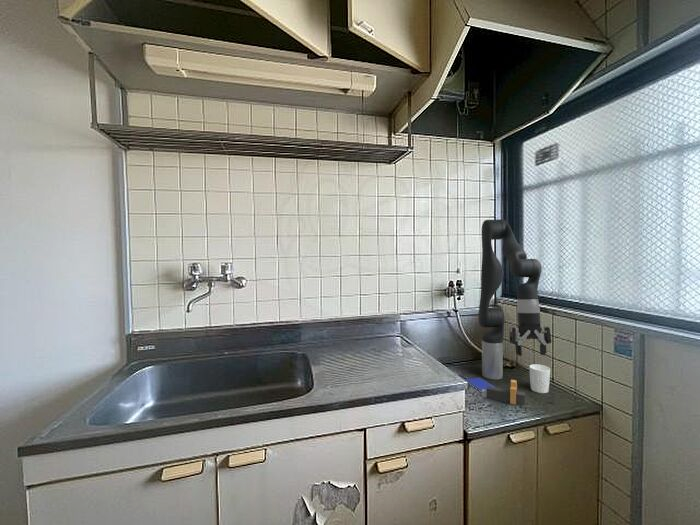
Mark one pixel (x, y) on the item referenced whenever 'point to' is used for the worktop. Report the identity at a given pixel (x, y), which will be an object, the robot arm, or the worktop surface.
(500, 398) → the gray rectangular block
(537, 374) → the white cup
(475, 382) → the hard drive
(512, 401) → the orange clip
